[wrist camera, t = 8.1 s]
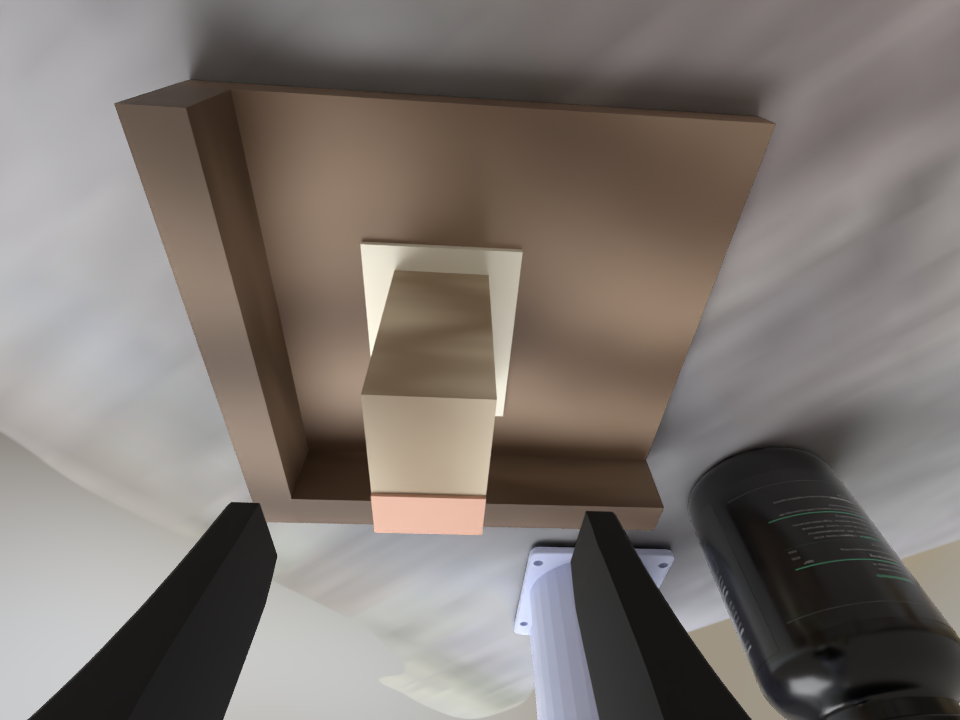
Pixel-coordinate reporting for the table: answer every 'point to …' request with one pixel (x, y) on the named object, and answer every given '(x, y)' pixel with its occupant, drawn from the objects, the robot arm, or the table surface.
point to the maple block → (431, 405)
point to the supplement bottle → (821, 594)
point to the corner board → (446, 249)
